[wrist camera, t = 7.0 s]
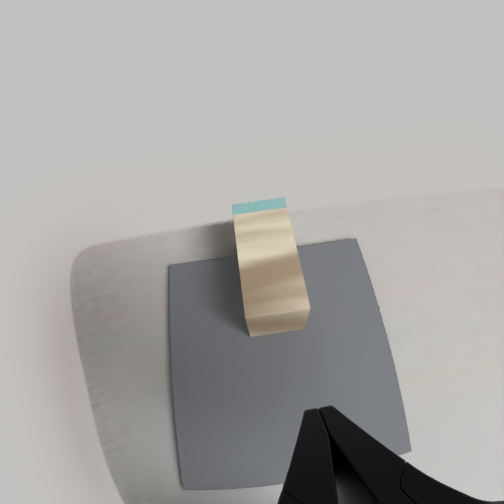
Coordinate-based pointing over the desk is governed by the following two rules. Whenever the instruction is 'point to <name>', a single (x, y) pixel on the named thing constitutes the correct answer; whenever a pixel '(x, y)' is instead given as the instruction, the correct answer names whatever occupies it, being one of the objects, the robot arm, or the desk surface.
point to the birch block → (269, 268)
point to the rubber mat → (275, 368)
